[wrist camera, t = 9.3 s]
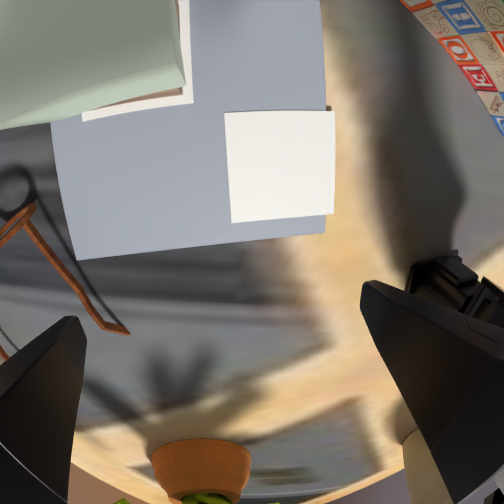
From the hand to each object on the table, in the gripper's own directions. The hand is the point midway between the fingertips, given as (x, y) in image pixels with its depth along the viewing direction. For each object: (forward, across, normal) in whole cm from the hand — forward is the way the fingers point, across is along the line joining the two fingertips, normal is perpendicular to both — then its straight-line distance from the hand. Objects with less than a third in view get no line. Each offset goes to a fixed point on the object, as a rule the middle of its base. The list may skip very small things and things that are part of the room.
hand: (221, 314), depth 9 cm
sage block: (+6, +4, -10) cm, 12 cm away
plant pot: (+13, -31, +43) cm, 55 cm away
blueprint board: (+12, +1, -7) cm, 14 cm away
